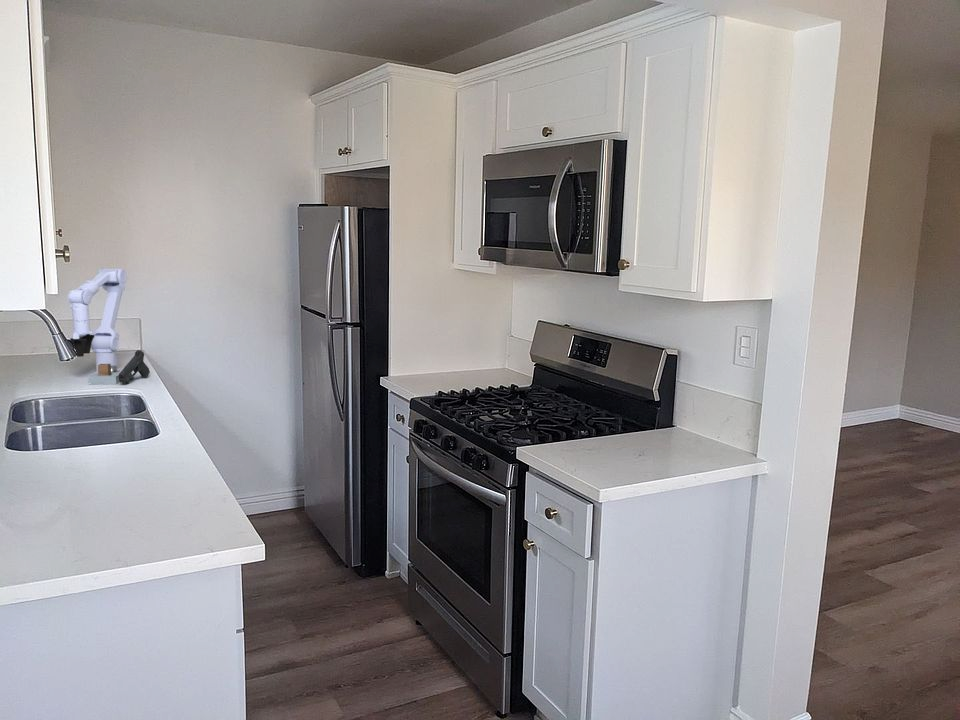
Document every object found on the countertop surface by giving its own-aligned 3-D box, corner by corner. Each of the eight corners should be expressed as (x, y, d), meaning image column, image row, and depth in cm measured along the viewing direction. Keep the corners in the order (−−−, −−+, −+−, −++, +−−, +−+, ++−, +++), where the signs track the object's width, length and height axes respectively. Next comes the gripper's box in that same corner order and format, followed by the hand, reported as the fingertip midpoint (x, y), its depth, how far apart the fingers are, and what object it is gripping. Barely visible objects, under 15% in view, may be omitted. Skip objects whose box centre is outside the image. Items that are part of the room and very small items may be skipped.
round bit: (107, 377, 303) (106, 365, 302) (119, 377, 304) (118, 365, 303) (104, 379, 299) (103, 367, 298) (116, 379, 299) (115, 367, 299)
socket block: (96, 380, 298) (95, 372, 297) (123, 379, 299) (122, 372, 299) (88, 384, 289) (87, 376, 288) (116, 384, 290) (115, 376, 290)
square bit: (101, 381, 295) (100, 363, 294) (111, 381, 296) (110, 363, 295) (98, 383, 292) (97, 365, 291) (108, 383, 293) (107, 365, 291)
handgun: (151, 372, 307) (142, 348, 300) (130, 398, 292) (121, 372, 286) (145, 372, 307) (137, 347, 300) (125, 398, 293) (116, 372, 286)
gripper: (86, 322, 288) (88, 357, 290) (98, 318, 302) (100, 351, 304) (66, 322, 287) (68, 357, 289) (78, 318, 301) (81, 352, 303)
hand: (83, 354), depth 296 cm, fingers open, 7 cm apart
